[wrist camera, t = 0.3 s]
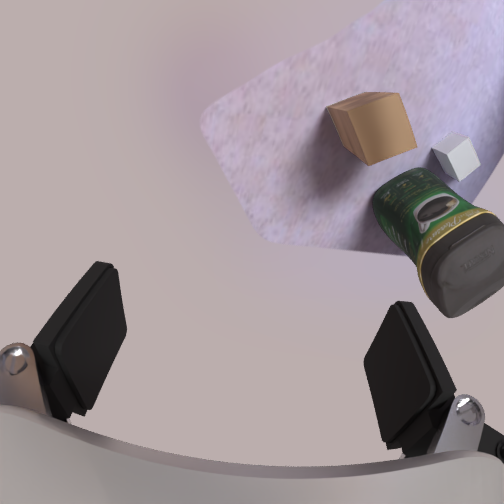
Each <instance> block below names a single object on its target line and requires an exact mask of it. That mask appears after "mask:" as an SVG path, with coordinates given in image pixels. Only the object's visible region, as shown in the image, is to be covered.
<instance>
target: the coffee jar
mask: <svg viewBox="0 0 504 504" xmlns="http://www.w3.org/2000/svg"><path fill="white" fill-rule="evenodd" d="M373 210H374V214H375V216H376V218H377V221H378V223H379V225H380V226H381V228H382V229H383V231H384V232H385V233H386V234H387V236H388V237H389V238H390V239H391V240H392V241H393V242H394V243H395V244H396V245H397V246H398V247H399V248H400V249H401V250H402V251H403V252H404V253H405V254H406V255H407V256H408V257H409V258H410V259H411V260H412V261H413V263H414V264H415V265H416V267H417V272H418V277H419V280H420V283H421V285H422V287H423V290H424V292H425V293H426V295H427V297H428V298H429V299H430V300H431V301H432V302H433V304H434V305H435V306H436V307H437V308H438V309H439V311H440V312H441V313H443V315H445V316H446V317H448V318H454V317H458V316H460V315H462V314H464V313H466V312H467V311H469V310H471V309H473V308H474V307H476V306H477V305H479V304H480V303H482V302H483V301H485V300H486V299H487V298H489V297H490V296H491V295H493V294H494V293H496V292H497V291H498V290H500V289H501V288H502V287H503V286H504V224H503V223H502V222H501V221H500V220H499V219H498V218H497V217H496V215H494V214H493V213H492V212H490V211H488V210H485V209H482V208H479V207H476V206H474V205H472V204H470V203H469V202H467V201H466V200H464V199H463V198H462V197H460V196H459V195H458V194H457V193H455V192H454V191H453V190H452V189H451V188H450V187H448V186H447V185H446V184H445V183H444V182H443V181H442V180H440V179H439V178H438V177H437V176H436V175H434V174H433V173H432V172H430V171H429V170H427V169H425V168H414V169H411V170H408V171H406V172H404V173H402V174H400V175H398V176H397V177H395V178H393V179H392V180H390V181H388V182H387V183H386V184H384V185H383V186H382V187H381V188H379V189H378V191H377V192H376V194H375V196H374V198H373Z"/></svg>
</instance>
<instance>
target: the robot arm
mask: <svg viewBox="0 0 504 504" xmlns="http://www.w3.org/2000/svg"><path fill="white" fill-rule="evenodd" d="M126 332H127V326H126V320H125V315H124V309H123V303H122V296H121V290H120V283H119V276H118V271H117V269H115V268H114V266H113V265H112V264H110V263H104V262H99V261H96V262H95V263H94V264H93V265H92V266H91V268H90V269H89V270H88V271H87V272H86V273H85V275H84V276H83V277H82V278H81V279H80V281H79V282H78V283H77V284H76V285H75V287H74V288H73V289H72V290H71V292H70V293H69V294H68V295H67V297H66V298H65V299H64V301H63V302H62V303H61V304H60V305H59V307H58V308H57V309H56V311H55V312H54V313H53V315H52V316H51V318H50V319H49V320H48V321H47V323H46V324H45V325H44V327H43V328H42V330H41V331H40V332H39V334H38V335H37V336H36V338H35V339H34V341H33V344H32V345H31V347H29V346H28V345H25V344H24V343H12V344H10V345H7V346H6V347H4V348H3V349H2V350H1V351H0V504H504V435H502V434H501V433H499V432H498V431H496V430H494V429H493V428H491V427H490V426H488V425H487V424H485V423H484V420H485V413H484V409H483V407H482V405H481V404H480V403H479V402H478V400H477V399H475V398H474V397H472V396H470V395H465V394H462V395H459V396H457V397H456V398H455V396H454V393H455V391H456V390H457V389H456V387H455V385H454V383H453V381H452V378H451V377H450V374H449V372H448V370H447V368H446V365H445V363H444V361H443V359H442V357H441V355H440V353H439V351H438V349H437V347H436V345H435V343H434V341H433V339H432V337H431V335H430V334H429V331H428V330H427V328H426V326H425V324H424V322H423V320H422V318H421V317H420V315H419V313H418V311H417V309H416V307H415V306H414V304H413V303H412V302H404V301H397V302H396V303H395V304H394V305H391V306H390V308H389V310H388V312H387V314H386V316H385V318H384V320H383V322H382V324H381V326H380V328H379V331H378V332H377V335H376V336H375V338H374V341H373V342H372V344H371V346H370V348H369V350H368V352H367V354H366V355H365V358H364V368H365V372H366V376H367V380H368V383H369V387H370V391H371V395H372V399H373V403H374V408H375V412H376V416H377V420H378V425H379V429H380V434H381V438H382V441H383V442H386V446H387V449H388V450H389V449H397V448H401V447H402V452H403V453H402V455H401V457H400V458H399V459H398V460H390V461H383V462H375V463H366V464H355V465H341V466H320V467H286V466H285V467H284V466H262V465H249V464H248V465H247V464H238V463H228V462H220V461H213V460H206V459H199V458H193V457H188V456H182V455H177V454H172V453H167V452H162V451H158V450H154V449H150V448H145V447H141V446H138V445H134V444H130V443H127V442H123V441H120V440H116V439H113V438H110V437H107V436H103V435H100V434H97V433H94V432H91V431H88V430H85V429H82V428H79V427H77V426H74V425H71V422H70V419H69V418H70V416H71V414H72V412H74V413H76V414H79V415H82V416H85V414H86V412H87V410H91V409H92V408H93V406H94V403H95V401H96V399H97V396H98V394H99V392H100V390H101V388H102V385H103V383H104V381H105V379H106V377H107V374H108V372H109V370H110V368H111V366H112V363H113V361H114V359H115V357H116V355H117V353H118V351H119V349H120V347H121V345H122V343H123V340H124V339H125V336H126Z"/></svg>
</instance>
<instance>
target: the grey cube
mask: <svg viewBox="0 0 504 504" xmlns="http://www.w3.org/2000/svg"><path fill="white" fill-rule="evenodd" d="M432 149H433V151H434V153H435V155H436V157H437V159H438V161H439V163H440V165H441V167H442V169H443V171H444V173H446V174H447V175H449V176H451V177H452V178H454V179H456V180H457V181H459V182H460V181H462V180H463V179H464V178H465V177H467V176H468V175H469V174H470V173H472V172H473V171H474V170H475V169H476V168H478V167H479V166H480V165H481V164H480V162H479V159H478V157H477V154H476V152H475V150H474V147H473V145H472V143H471V141H470V138H469V137H467V136H464V135H461V134H458V133H455V132H451V133H450V134H449V135H447V136H446V137H445V138H443V139H442V140H441V141H439V142H438V143H437V144H436V145H434V146H433V147H432Z"/></svg>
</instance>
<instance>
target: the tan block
mask: <svg viewBox="0 0 504 504" xmlns="http://www.w3.org/2000/svg"><path fill="white" fill-rule="evenodd" d="M326 108H327V110H328V112H329V114H330V116H331V119H332V121H333V123H334V125H335V128H336V130H337V132H338V135H339V137H340V139H341V142H342V144H343V146H344V147H345V148H346V149H348V150H349V151H350V152H352V153H353V154H354V155H355V156H357V157H358V158H359V159H360V160H362V161H363V162H364V163H365V164H367V165H368V166H370V165H373V164H375V163H378V162H380V161H383V160H385V159H388V158H391V157H393V156H396V155H398V154H401V153H403V152H406V151H409V150H411V149H414V148H417V144H416V141H415V137H414V134H413V131H412V128H411V125H410V122H409V119H408V116H407V114H406V111H405V108H404V105H403V103H402V100H401V97H400V95H399V93H387V92H364V93H361V94H358V95H356V96H353V97H350V98H347V99H345V100H342V101H339V102H337V103H334V104H332V105H329V106H326Z"/></svg>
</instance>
